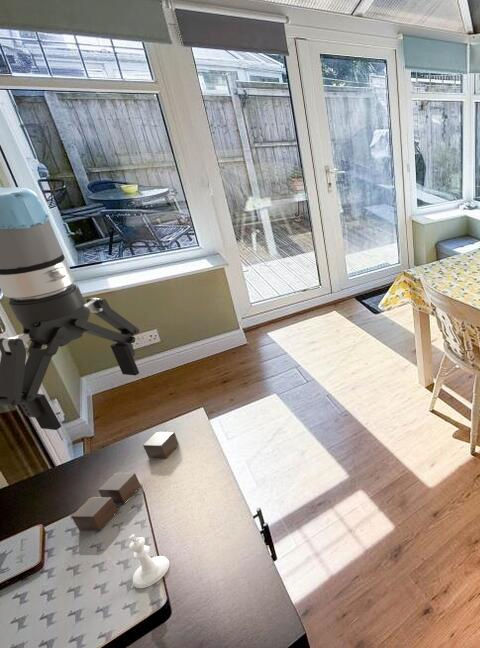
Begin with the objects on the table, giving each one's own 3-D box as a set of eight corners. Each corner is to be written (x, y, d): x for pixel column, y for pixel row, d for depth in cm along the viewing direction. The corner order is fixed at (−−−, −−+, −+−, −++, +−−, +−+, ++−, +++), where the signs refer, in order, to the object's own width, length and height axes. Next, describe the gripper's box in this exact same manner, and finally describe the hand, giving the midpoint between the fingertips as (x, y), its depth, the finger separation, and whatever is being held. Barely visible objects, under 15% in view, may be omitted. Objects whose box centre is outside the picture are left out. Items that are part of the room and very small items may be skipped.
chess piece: (155, 554, 74) (138, 517, 70) (176, 562, 73) (159, 526, 69) (125, 582, 70) (104, 545, 66) (147, 592, 69) (127, 555, 65)
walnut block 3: (148, 458, 93) (142, 445, 91) (162, 444, 96) (156, 431, 95) (166, 458, 93) (161, 445, 91) (179, 444, 96) (174, 431, 95)
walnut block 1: (79, 530, 78) (70, 516, 76) (98, 510, 81) (90, 496, 80) (100, 531, 78) (92, 516, 76) (118, 511, 81) (111, 497, 80)
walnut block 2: (105, 503, 83) (97, 489, 81) (122, 485, 86) (115, 472, 85) (125, 504, 83) (118, 490, 81) (141, 486, 86) (135, 472, 85)
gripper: (-44, 336, 52) (31, 459, 60) (139, 260, 74) (174, 357, 83) (-96, 331, 52) (-15, 453, 61) (101, 258, 75) (140, 354, 84)
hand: (94, 398), depth 72 cm, fingers open, 13 cm apart
